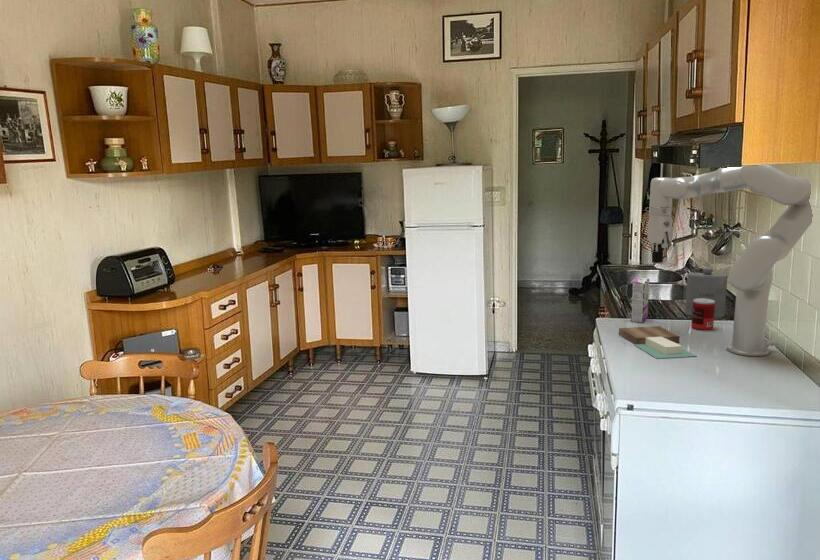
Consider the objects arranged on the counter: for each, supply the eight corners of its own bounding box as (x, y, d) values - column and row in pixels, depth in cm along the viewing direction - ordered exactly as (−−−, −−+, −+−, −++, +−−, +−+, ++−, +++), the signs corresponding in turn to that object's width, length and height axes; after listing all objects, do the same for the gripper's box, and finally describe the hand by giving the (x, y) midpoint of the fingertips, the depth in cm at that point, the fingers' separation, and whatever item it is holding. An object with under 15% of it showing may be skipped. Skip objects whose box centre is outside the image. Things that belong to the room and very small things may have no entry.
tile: (660, 343, 224) (661, 336, 223) (681, 353, 212) (682, 345, 212) (645, 344, 222) (645, 337, 222) (665, 354, 211) (666, 347, 210)
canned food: (713, 327, 245) (715, 299, 243) (712, 331, 238) (714, 303, 236) (692, 324, 249) (693, 297, 247) (690, 329, 242) (692, 301, 240)
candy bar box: (635, 316, 264) (637, 277, 261) (648, 317, 262) (650, 278, 259) (630, 321, 255) (632, 281, 252) (643, 323, 252) (645, 282, 249)
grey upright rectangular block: (685, 316, 262) (688, 268, 259) (684, 313, 268) (687, 266, 264) (725, 318, 257) (729, 270, 254) (723, 315, 263) (727, 268, 259)
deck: (659, 332, 238) (659, 326, 238) (679, 342, 225) (679, 336, 224) (618, 334, 237) (619, 328, 236) (636, 345, 223) (636, 338, 222)
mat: (671, 343, 224) (671, 342, 224) (696, 356, 209) (696, 355, 209) (633, 345, 223) (633, 344, 223) (656, 358, 207) (656, 358, 207)
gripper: (681, 213, 222) (677, 265, 225) (659, 210, 237) (656, 258, 240) (660, 213, 221) (657, 265, 224) (640, 210, 236) (637, 259, 239)
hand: (657, 262), depth 232 cm, fingers closed
